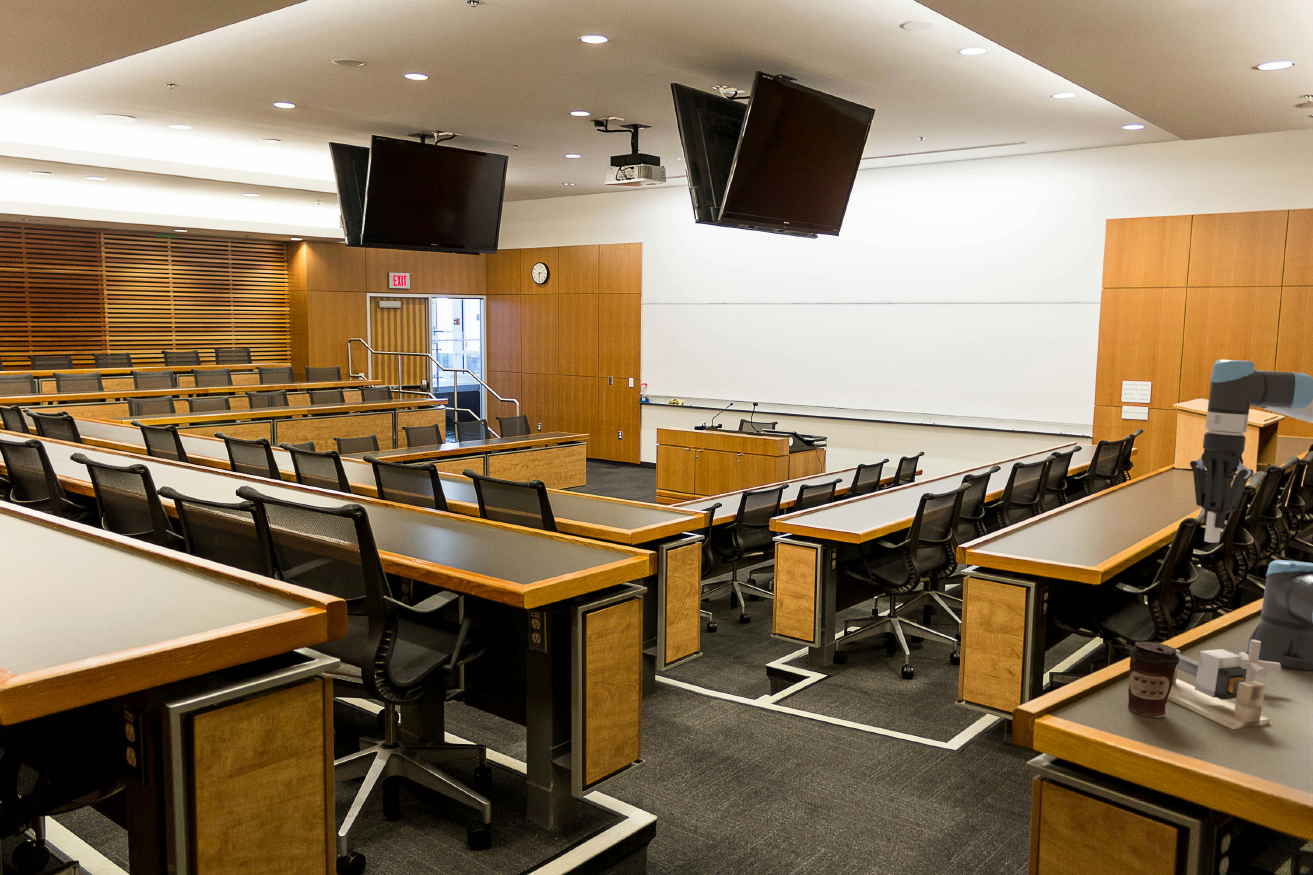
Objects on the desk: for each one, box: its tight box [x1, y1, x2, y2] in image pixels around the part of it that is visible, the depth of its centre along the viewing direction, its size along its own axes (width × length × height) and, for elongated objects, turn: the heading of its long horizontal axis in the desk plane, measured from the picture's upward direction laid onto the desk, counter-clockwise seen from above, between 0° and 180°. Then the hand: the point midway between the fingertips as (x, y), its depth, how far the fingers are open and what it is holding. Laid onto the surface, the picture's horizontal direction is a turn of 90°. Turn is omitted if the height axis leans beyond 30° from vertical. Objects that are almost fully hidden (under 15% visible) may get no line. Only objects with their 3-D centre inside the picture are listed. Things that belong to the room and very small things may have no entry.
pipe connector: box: [1237, 640, 1282, 682], centre depth 194 cm, size 10×10×10 cm
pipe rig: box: [1167, 648, 1271, 730], centre depth 182 cm, size 10×20×8 cm, turn 21°
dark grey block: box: [1214, 666, 1247, 700], centre depth 177 cm, size 6×2×6 cm, turn 111°
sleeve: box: [1195, 648, 1241, 698], centre depth 179 cm, size 6×4×8 cm, turn 111°
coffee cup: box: [1127, 641, 1179, 718], centre depth 176 cm, size 9×8×13 cm
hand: (1211, 541), depth 199 cm, fingers closed
